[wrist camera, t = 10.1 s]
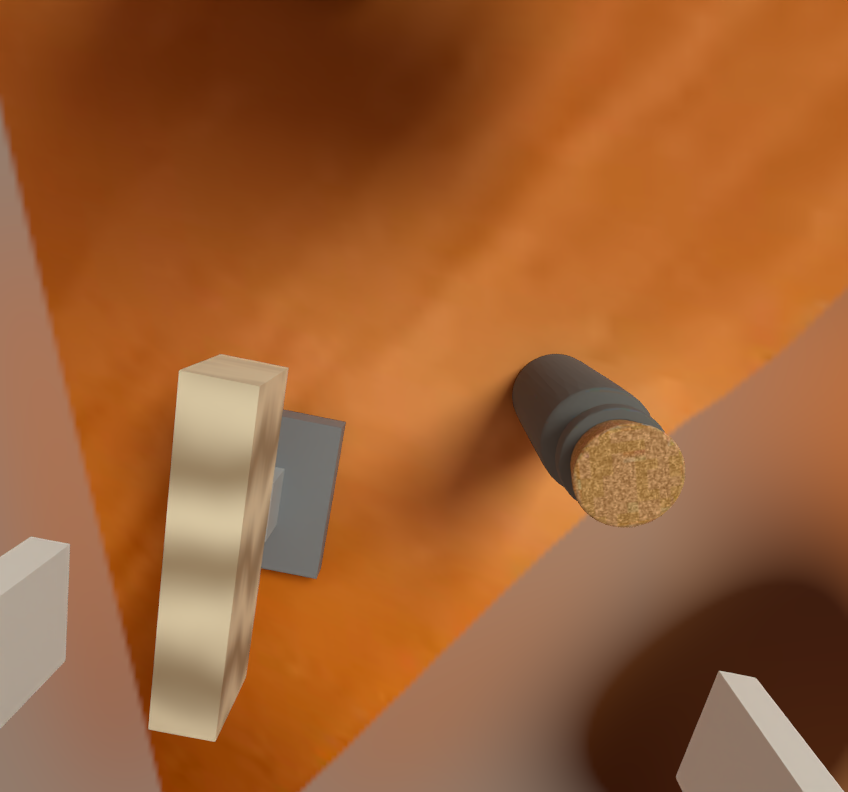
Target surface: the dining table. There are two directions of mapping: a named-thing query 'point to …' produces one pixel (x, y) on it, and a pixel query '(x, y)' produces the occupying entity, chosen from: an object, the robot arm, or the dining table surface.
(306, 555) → the fulcrum
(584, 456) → the bottle
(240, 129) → the dining table surface
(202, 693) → the beam
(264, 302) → the dining table surface
